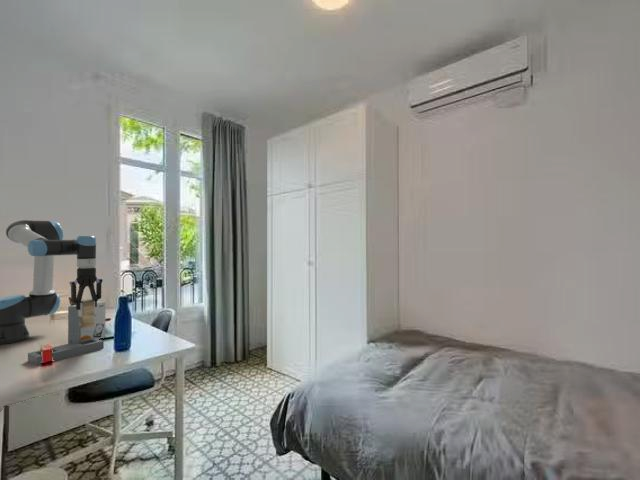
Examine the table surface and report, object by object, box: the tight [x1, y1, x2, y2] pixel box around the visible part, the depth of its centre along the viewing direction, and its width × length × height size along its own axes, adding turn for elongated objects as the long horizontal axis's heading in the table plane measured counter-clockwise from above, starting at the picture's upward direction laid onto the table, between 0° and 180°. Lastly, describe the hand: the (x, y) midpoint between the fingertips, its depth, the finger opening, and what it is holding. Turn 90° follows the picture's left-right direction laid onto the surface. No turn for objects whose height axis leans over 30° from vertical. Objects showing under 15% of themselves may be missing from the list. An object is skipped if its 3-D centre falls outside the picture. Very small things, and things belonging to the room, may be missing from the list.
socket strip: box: [27, 338, 105, 366], centre depth 152 cm, size 10×26×4 cm, turn 148°
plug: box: [79, 298, 94, 329], centre depth 159 cm, size 5×5×13 cm
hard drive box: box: [67, 300, 107, 344], centre depth 171 cm, size 16×8×20 cm, turn 168°
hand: (86, 315), depth 159 cm, fingers closed on plug, 5 cm apart
